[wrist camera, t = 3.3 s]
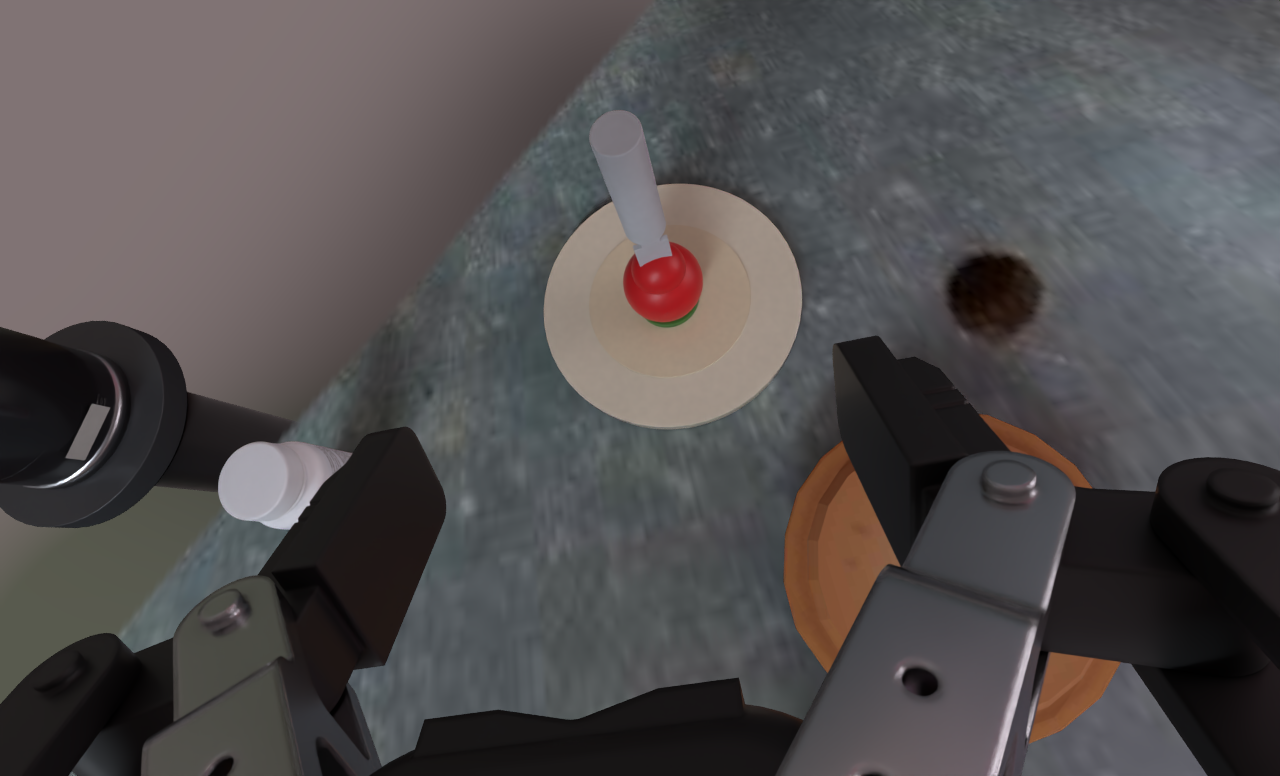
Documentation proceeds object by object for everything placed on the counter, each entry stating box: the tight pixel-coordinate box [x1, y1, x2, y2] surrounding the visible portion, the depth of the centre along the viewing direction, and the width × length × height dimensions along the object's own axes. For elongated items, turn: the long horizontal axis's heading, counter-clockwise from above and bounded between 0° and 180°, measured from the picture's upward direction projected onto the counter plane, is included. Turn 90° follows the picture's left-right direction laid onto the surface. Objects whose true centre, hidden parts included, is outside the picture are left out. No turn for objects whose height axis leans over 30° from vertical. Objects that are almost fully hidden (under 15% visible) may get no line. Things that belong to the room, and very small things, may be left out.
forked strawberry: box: [589, 110, 703, 328], centre depth 30 cm, size 5×5×16 cm
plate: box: [544, 184, 802, 429], centre depth 38 cm, size 16×16×1 cm
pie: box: [783, 414, 1120, 743], centre depth 30 cm, size 16×16×5 cm
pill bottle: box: [218, 441, 352, 530], centre depth 35 cm, size 5×5×8 cm
